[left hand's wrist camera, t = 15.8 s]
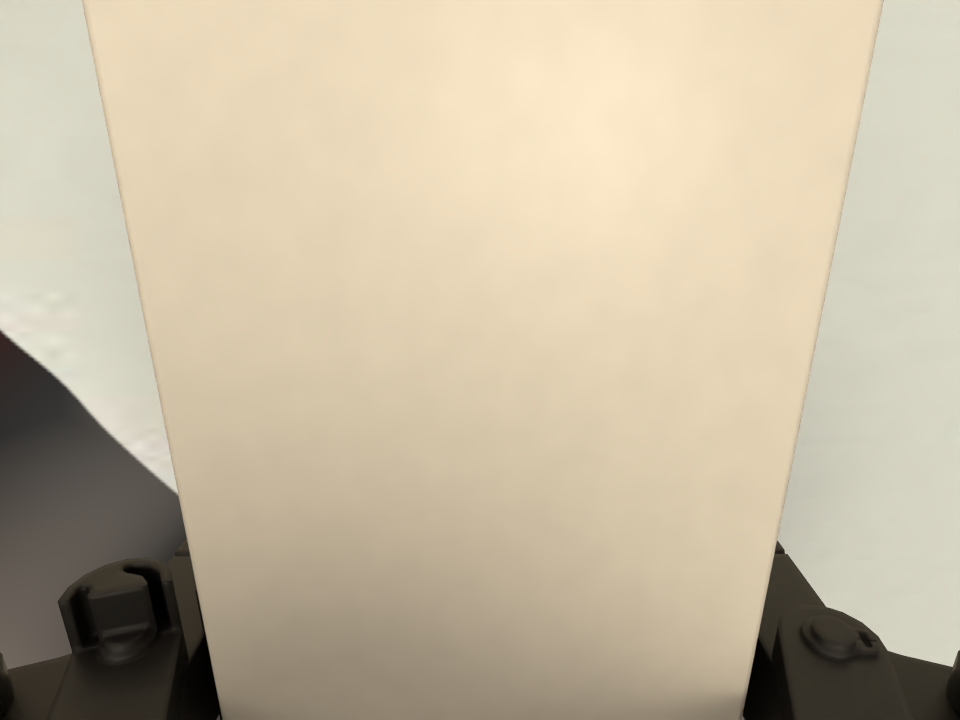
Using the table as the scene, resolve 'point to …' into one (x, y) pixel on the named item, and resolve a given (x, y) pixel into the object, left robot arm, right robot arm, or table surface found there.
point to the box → (482, 334)
